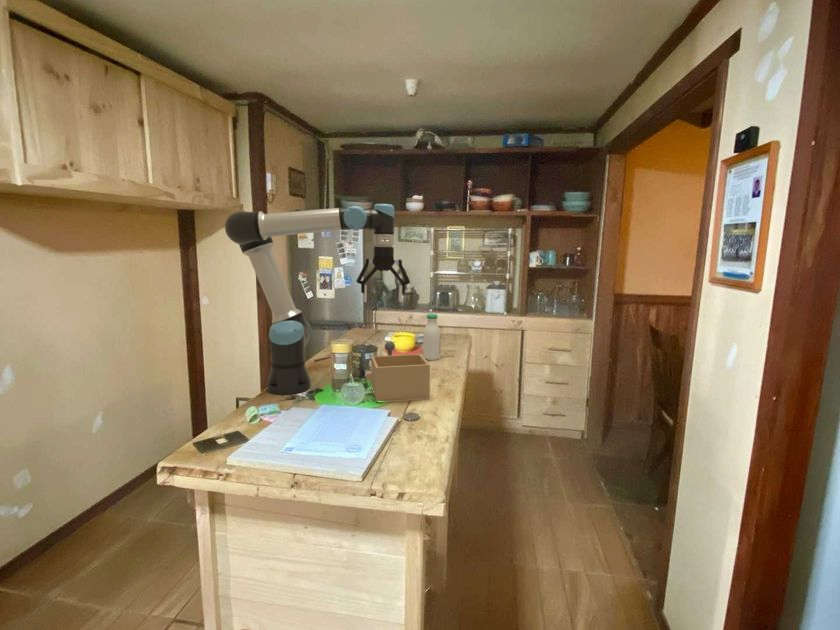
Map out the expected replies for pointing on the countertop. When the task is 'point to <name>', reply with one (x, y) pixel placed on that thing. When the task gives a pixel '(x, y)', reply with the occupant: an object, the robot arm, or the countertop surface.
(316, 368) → the countertop surface
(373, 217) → the robot arm
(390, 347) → the carton lid
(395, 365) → the carton
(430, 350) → the milk bottle
